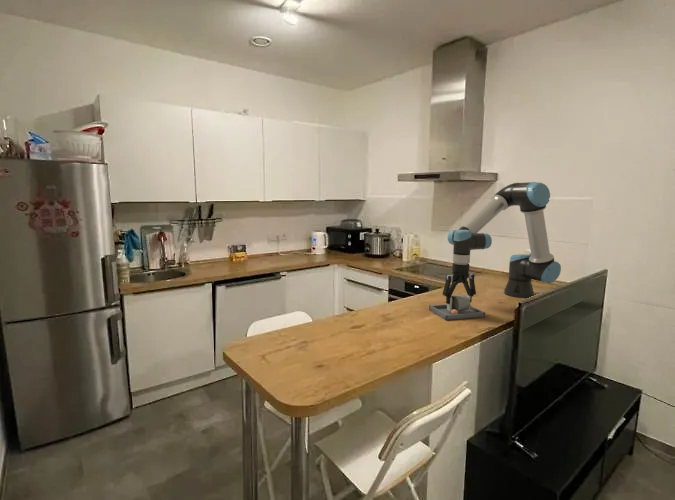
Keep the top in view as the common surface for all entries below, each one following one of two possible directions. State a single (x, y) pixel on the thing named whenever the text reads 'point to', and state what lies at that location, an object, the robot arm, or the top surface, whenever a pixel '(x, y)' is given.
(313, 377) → the top surface
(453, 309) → the ball
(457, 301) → the ceramic mug
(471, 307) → the tray
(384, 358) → the top surface
